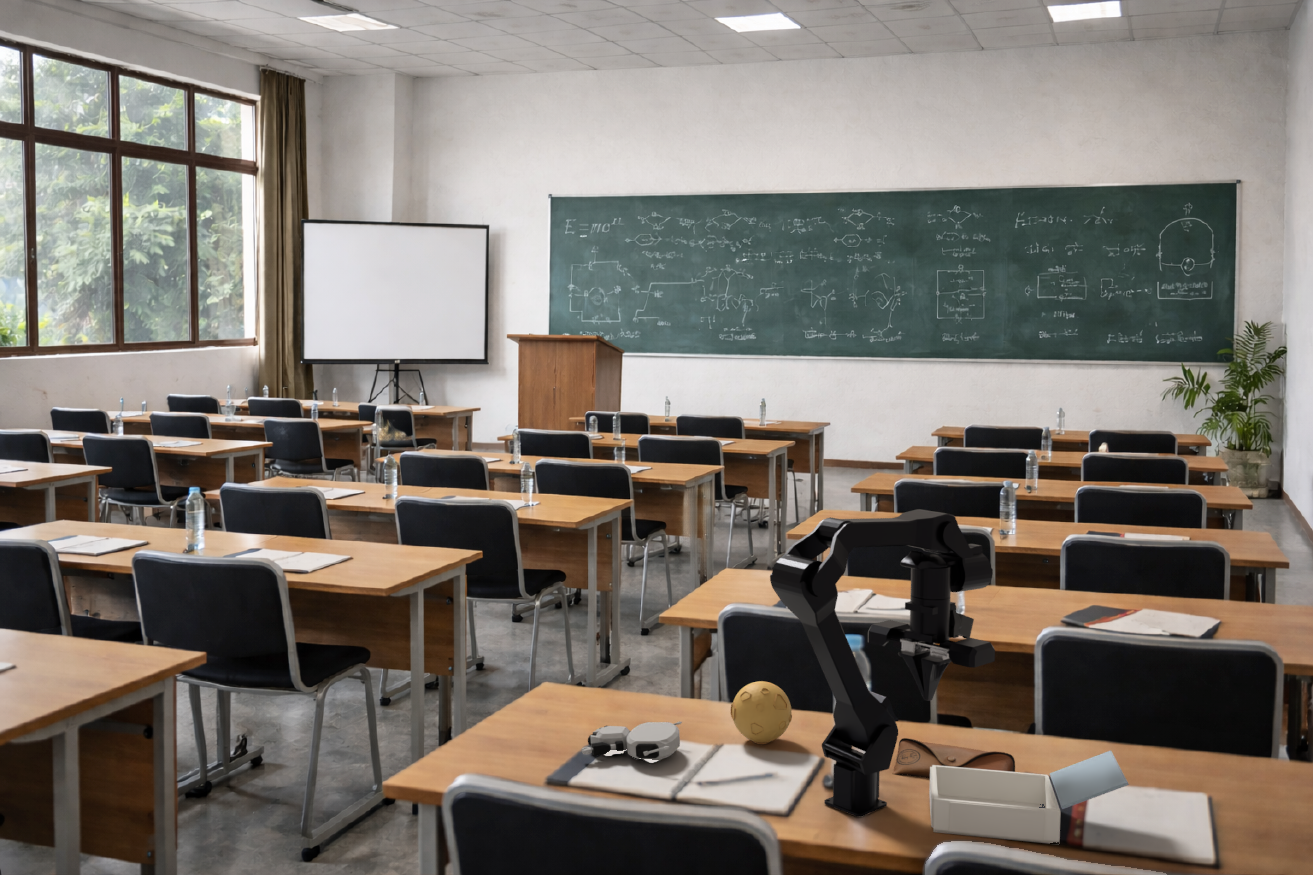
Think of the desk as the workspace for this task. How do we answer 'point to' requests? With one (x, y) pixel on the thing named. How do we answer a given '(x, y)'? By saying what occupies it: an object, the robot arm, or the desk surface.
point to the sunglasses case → (946, 758)
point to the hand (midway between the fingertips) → (927, 699)
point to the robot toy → (636, 740)
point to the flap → (1088, 779)
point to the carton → (993, 804)
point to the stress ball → (761, 712)
